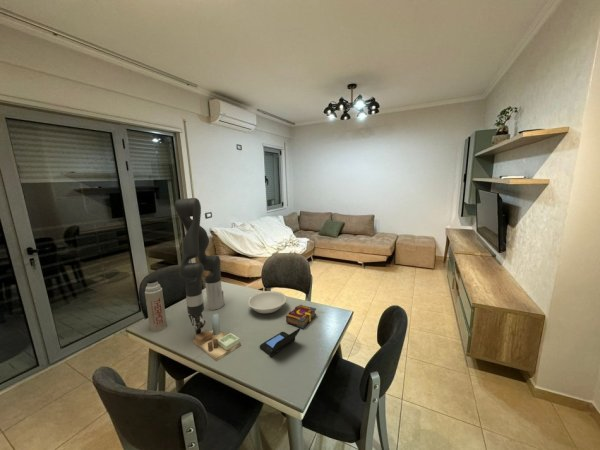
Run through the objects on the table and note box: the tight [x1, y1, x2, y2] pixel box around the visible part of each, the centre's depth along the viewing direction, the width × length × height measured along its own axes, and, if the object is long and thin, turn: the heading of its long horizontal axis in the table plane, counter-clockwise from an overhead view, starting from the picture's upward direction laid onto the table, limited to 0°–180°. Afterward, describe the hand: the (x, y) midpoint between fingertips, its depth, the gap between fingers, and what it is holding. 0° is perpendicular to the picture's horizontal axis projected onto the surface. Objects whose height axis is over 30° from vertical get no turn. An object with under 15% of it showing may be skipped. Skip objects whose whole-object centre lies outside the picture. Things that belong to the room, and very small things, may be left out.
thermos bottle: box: [144, 278, 168, 333], centre depth 130 cm, size 8×8×28 cm
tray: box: [218, 332, 241, 351], centre depth 116 cm, size 7×7×2 cm
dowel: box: [210, 312, 221, 335], centre depth 124 cm, size 4×4×10 cm
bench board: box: [192, 329, 241, 362], centre depth 118 cm, size 13×21×5 cm, turn 50°
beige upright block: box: [194, 329, 212, 345], centre depth 119 cm, size 6×5×3 cm
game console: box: [259, 327, 301, 357], centre depth 114 cm, size 16×14×9 cm
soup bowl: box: [246, 290, 288, 314], centre depth 149 cm, size 24×24×7 cm
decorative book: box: [285, 304, 317, 329], centre depth 138 cm, size 11×16×5 cm
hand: (198, 334), depth 122 cm, fingers closed
